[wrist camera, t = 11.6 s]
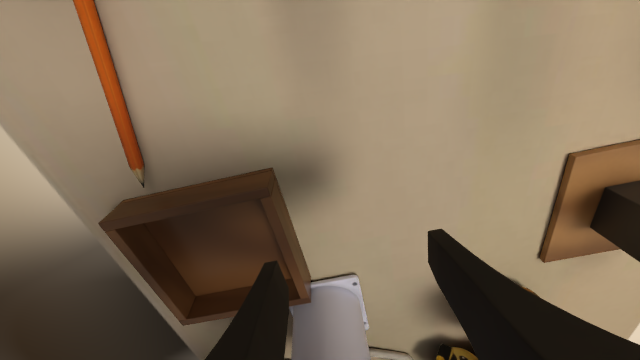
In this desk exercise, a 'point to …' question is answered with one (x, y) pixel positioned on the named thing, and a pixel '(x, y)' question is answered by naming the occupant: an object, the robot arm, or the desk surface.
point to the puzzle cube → (620, 217)
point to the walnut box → (210, 243)
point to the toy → (454, 353)
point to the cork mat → (587, 199)
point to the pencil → (110, 83)
